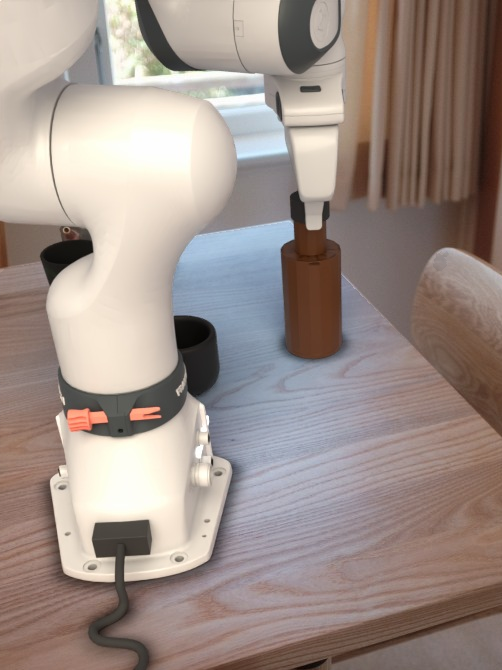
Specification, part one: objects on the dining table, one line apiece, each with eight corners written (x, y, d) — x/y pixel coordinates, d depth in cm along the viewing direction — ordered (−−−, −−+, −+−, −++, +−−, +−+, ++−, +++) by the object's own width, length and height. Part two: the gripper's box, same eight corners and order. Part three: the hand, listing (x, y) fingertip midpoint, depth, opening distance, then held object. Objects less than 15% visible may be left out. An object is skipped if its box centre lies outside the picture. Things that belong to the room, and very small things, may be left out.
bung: (332, 237, 106) (331, 202, 104) (293, 240, 106) (291, 204, 103) (327, 222, 110) (326, 187, 107) (289, 224, 109) (288, 190, 107)
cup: (128, 342, 118) (113, 254, 111) (73, 359, 115) (53, 270, 107) (105, 319, 123) (88, 234, 116) (51, 335, 120) (30, 248, 112)
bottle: (345, 356, 115) (344, 226, 104) (288, 360, 114) (281, 230, 103) (337, 329, 120) (336, 203, 110) (283, 333, 120) (276, 206, 109)
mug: (202, 358, 115) (195, 307, 110) (234, 390, 109) (229, 337, 104) (112, 386, 110) (101, 333, 106) (141, 421, 104) (131, 367, 100)
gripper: (269, 62, 105) (275, 181, 114) (283, 114, 89) (289, 248, 98) (323, 59, 105) (325, 178, 114) (346, 111, 90) (347, 245, 99)
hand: (309, 211), depth 106 cm, fingers open, 8 cm apart
